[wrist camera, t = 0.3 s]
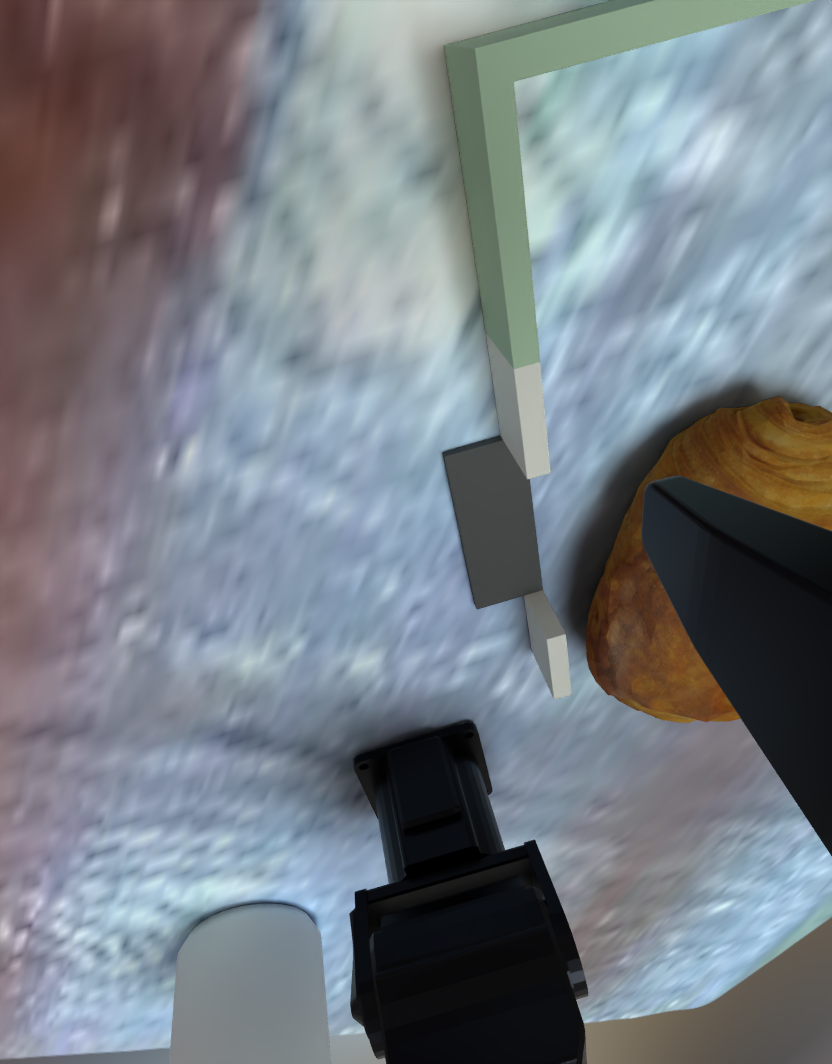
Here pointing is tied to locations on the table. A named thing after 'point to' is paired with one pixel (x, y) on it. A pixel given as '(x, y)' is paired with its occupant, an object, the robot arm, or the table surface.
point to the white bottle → (251, 990)
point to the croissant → (633, 585)
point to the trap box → (529, 282)
